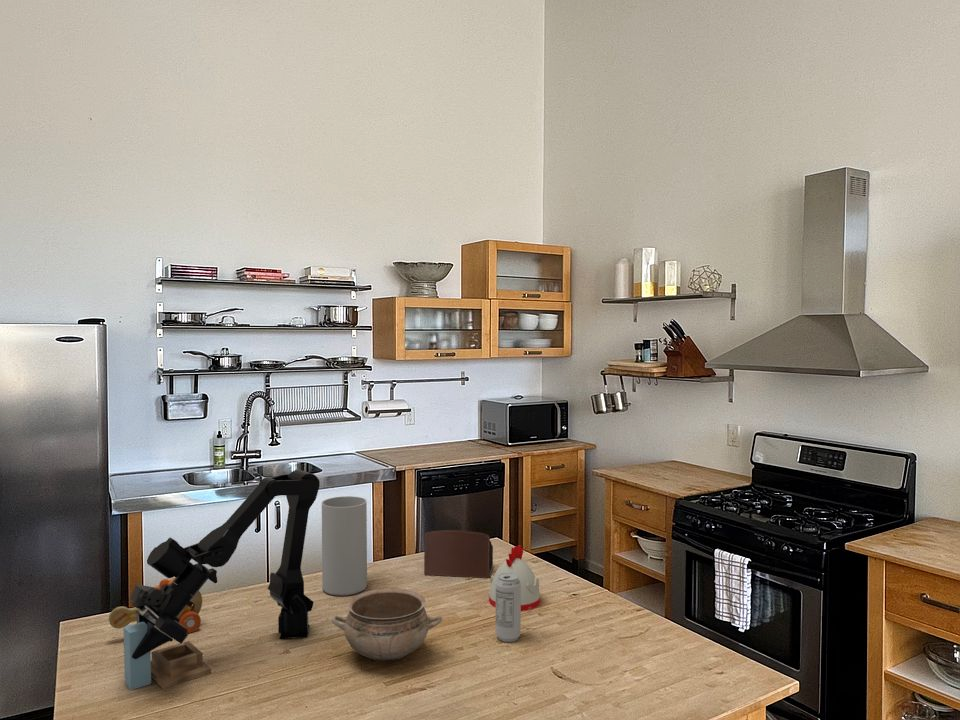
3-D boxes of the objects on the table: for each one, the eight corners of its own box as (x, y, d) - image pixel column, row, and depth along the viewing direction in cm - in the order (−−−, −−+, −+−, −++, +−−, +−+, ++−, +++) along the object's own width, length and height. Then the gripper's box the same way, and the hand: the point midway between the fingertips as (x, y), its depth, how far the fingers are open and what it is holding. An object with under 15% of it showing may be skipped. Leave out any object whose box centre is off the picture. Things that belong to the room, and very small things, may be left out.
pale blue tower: (144, 676, 153) (143, 621, 152) (151, 683, 150) (149, 627, 149) (124, 682, 150) (123, 626, 149) (130, 690, 147) (129, 633, 147)
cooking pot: (444, 637, 172) (444, 587, 172) (439, 676, 153) (439, 620, 153) (340, 636, 172) (340, 587, 172) (323, 675, 153) (322, 620, 153)
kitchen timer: (548, 598, 197) (549, 544, 196) (524, 615, 185) (524, 558, 184) (505, 588, 204) (505, 536, 203) (479, 604, 193) (479, 549, 192)
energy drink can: (525, 637, 172) (525, 576, 171) (509, 645, 168) (509, 582, 167) (506, 629, 176) (507, 570, 175) (490, 637, 172) (490, 576, 171)
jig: (190, 653, 163) (189, 636, 163) (211, 672, 154) (210, 654, 154) (144, 668, 156) (143, 650, 156) (163, 688, 148) (162, 670, 147)
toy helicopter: (205, 629, 176) (204, 575, 175) (111, 650, 165) (109, 592, 164) (199, 618, 183) (197, 565, 182) (108, 637, 172) (106, 581, 171)
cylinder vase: (362, 596, 197) (362, 507, 196) (317, 596, 197) (316, 507, 196) (370, 580, 210) (369, 496, 208) (328, 580, 210) (327, 496, 209)
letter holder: (489, 579, 212) (489, 532, 211) (423, 576, 214) (423, 529, 213) (493, 567, 221) (493, 522, 221) (430, 564, 224) (430, 520, 223)
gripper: (140, 558, 158) (87, 621, 151) (170, 581, 145) (112, 651, 138) (178, 584, 164) (127, 646, 157) (210, 609, 150) (156, 677, 143)
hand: (130, 654), depth 149 cm, fingers closed on pale blue tower, 4 cm apart
